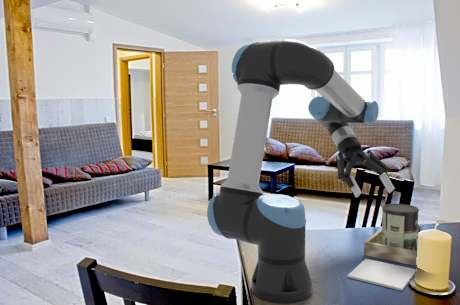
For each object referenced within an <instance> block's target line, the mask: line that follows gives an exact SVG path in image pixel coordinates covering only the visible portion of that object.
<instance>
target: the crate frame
mask: <svg viewBox="0 0 460 305" xmlns="http://www.w3.org/2000/svg"><path fill="white" fill-rule="evenodd" d="M418 235H419V234H417V239H418ZM417 251H418V250H417ZM417 251H414V250H408V249H403V248H398V247H393V246H387V245H382V227H381V228H380V229H378V230H377V231H376V232H374V233H373V234H372V235H371V236H370V237H369V238H367V239H366V240H365V241H364V242H363V255H364V256H367V257H371V258H376V259H377V258H378V259H382V260H386V261H392V262H395V263H401V264H406V265H410V266H413V267H414V266H415V267H417V266H416V257H417Z"/></svg>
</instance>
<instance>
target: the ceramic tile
mask: <svg viewBox="0 0 460 305" xmlns="http://www.w3.org/2000/svg"><path fill="white" fill-rule="evenodd" d="M415 269H416V268H411V267H406V266H402V265H398V264H392V263H388V262H383V261H379V260H374V259H369V258H364V260H362V261H361V262H360V263H359V264H358V265H357V266H356V267H355V268H354V269H353V270H351V272H349V273H348V274H347V278H348V279H353V280H357V281H361V282H365V283H368V284H373V285H377V286H381V287H385V288H389V289H393V290H397V291H401V292H403V290H405V288H406V287H407V285H408V284H409V283H410V281H411V280H410V279H412V278H413V277H414V276H413V275H415V274H416V273H415Z"/></svg>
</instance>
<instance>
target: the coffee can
mask: <svg viewBox="0 0 460 305" xmlns="http://www.w3.org/2000/svg"><path fill="white" fill-rule="evenodd" d="M381 210H382V217H381V218H382V222H381V223H382V224H381V228H382V242H381V244H382V245H387V246H393V247H398V248H403V249H408V250H414V251H418V248H417V235H418V234H417V230H418V225H419V224H418V223H419V212H420V209H419V207H417V206H414V205H411V204H405V203H387V204H384V205H382V207H381Z"/></svg>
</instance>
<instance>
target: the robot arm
mask: <svg viewBox="0 0 460 305" xmlns="http://www.w3.org/2000/svg"><path fill="white" fill-rule="evenodd" d="M231 73H232V78H233V80H234V82H235V83H236V84H237V86H236V89H237V90H238V91H239V92H240V94H241V96H240V102H239V107H238V114H237V119H236V126H235V131H234V137H233V144H232V150H231V154H230V155H231V156H230V163H229V168H228V173H227V179H226V181H225V182H223V183H222V184H221V185H220V187H219V192H216V193H214V194H213V195H212V198H210V199H209V201H208V204H207V210H206V211H207V212H206V216H207V222H208V224H209V226H210V227H211V230H212V231H213V232H214V234H217V235H218V236H221V237H224V238H226V239H231V240H235V241H241V242H245V243H248V244H251V245H252V244H253V245H256V246H257V262H256V265H255V267H254V271H253V274H252V277H251V282H250V284H251V291H252V293H253V295H255V296H256V297H257V298H259V299H261V300H263V301H264V300H265V301H267V302H271V303H279V304H288V303H289V304H290V303H297V302H300V301H303V300H305V299H307V298H308V297H310V296H311V295H312V292H313V282H312V278H311V275H310V271H309V268H308V266H307V262H306V223H307V219H306V210H305V206H304V204H303V203H302V201H301V200H299V199H297V198H295V197H292V196H289V195H285V194H281V193H279V194H276V193H266V194H264V191H263V190H262V188H261V187H260V180H261V179H260V178H261V172H262V166H263V160H264V154H265V147H266V141H267V140H266V139H267V135H268V129H269V122H270V118H271V110H272V109H271V108H272V104H273V99H274V98H276V97H278V96H279V94H280V91H281V90H280V89H281V86H282V85H283V86H284V85H299V86H300V85H301V86H304V87H305V88H306V89H309V90H313V91H316V93H318V94H320V95H318V96H315V97H313V98H312V99H311V100H310V101H309V103H308V106H307V108H308V112H309V114H310V115H311V116H312V118H313V119H314V120H316V121H317V122H318V123H319V124H321V125H322V126H323V127H325V129H326V130H327V132H328V134H329V136H330V137H331V139H332V141H333V143H334V145H335V147H336V149H337V150H338V153H337V155H336V156H335V160H336V162H337V179H338V180H341V181H342V182H343V183H346V185H347V187H348V188H349V189H351V192H352V193H353V194H354V197H355V198H359V197H360V195H361V194H362V190H361V188H360V186H359V185H358V183H357V181H356V179H355V178H354V176H353V175H351V173H352V170H353V166H354V167H355V166H363V167H367V169H370V171H372V172H374V173H376V174H377V175H379V180H380V181H381V182H382V184H383V186H384V187H385V189H386V192H388V194H391V193H392V192H393V191H394V190H395V189H396V187H395V186H394V185H393V183H392V180H391V177H390V176H389V175H388V173H389V171H390V170H391V168H390V167H388V165H386V164H385V163H384V162H383V161H381V159H379V158H378V157H377V156H376V155H375V154H374V153H373V152H372V150H370V149H368V150H367V151H364V150H362V145H361V142H360V141H359V140H358V137H357V136H356V134H355V133H354V131H353V129H352V127H351V126H350V125H349V124H363V125H366V124H373V123H375V122H376V121H377V120H378V118H379V113H380V112H379V104H378V102H377V101H376V100H374V99H373V100H372V99H364V98H363V97H362V96H361V95H360V94H359V93H358V92H357V91H356V90H355V89H354V88H353V87H352V86H351V84H349V83H348V82H347V81H346V80H345V79H344V78H343V77H342V76H341V75H340V73H338V71H336V70H335V66H334V62H333V61H332V60H331V59H330V58H329V57H328V56H327V55H326V54H325V53H324V52H322V51H321V50H319V49H318V48H316V47H315V46H313V45H311V44H308V43H306V42H304V41H301V40H297V39H291V38H289V39H281V40H273V41H264V42H263V41H261V42H259V41H256V42H252V43H249V44H245V45H242V47H239V49H237V51H236V52H235V54H234V57H233V58H232V63H231ZM345 162H346V165H345Z"/></svg>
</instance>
